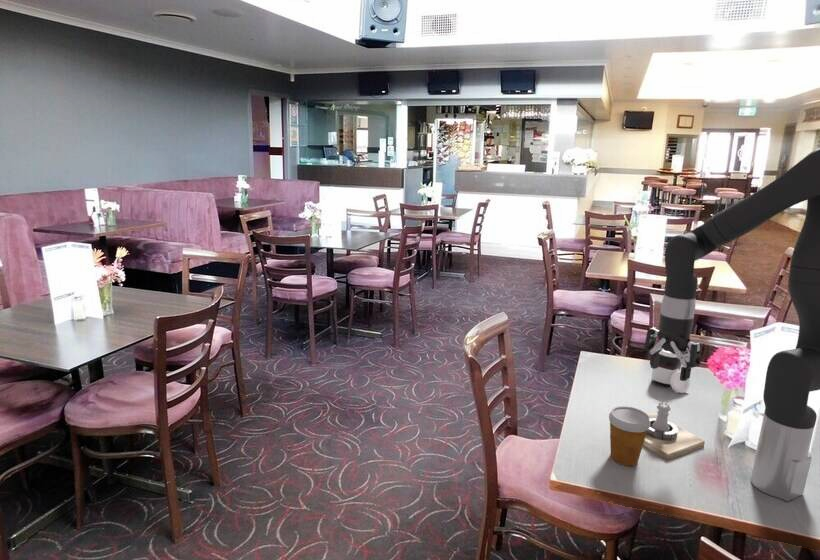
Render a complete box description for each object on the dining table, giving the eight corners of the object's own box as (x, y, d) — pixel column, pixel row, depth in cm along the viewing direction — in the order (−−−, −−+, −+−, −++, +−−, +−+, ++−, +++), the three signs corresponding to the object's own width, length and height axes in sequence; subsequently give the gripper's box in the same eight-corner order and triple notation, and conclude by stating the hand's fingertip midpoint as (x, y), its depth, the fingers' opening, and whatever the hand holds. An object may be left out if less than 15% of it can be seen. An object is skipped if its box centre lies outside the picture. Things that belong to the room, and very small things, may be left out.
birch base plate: (704, 446, 139) (704, 440, 138) (667, 459, 133) (668, 454, 132) (651, 417, 153) (652, 412, 152) (616, 428, 146) (616, 423, 146)
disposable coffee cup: (647, 455, 134) (653, 411, 131) (641, 474, 126) (648, 429, 123) (607, 444, 139) (613, 401, 136) (599, 462, 131) (605, 417, 128)
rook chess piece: (671, 437, 140) (675, 409, 138) (653, 435, 140) (657, 407, 138) (667, 429, 144) (671, 401, 142) (649, 427, 145) (653, 399, 143)
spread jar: (657, 374, 181) (662, 342, 178) (693, 384, 174) (699, 351, 171) (645, 386, 172) (650, 352, 169) (683, 397, 165) (689, 362, 162)
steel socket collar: (683, 436, 141) (684, 429, 140) (662, 443, 137) (663, 437, 136) (657, 421, 148) (658, 415, 147) (636, 428, 144) (637, 422, 143)
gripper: (713, 319, 129) (703, 381, 133) (662, 304, 142) (654, 361, 146) (693, 323, 126) (683, 387, 130) (642, 307, 138) (635, 366, 142)
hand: (668, 373), depth 138 cm, fingers open, 8 cm apart
